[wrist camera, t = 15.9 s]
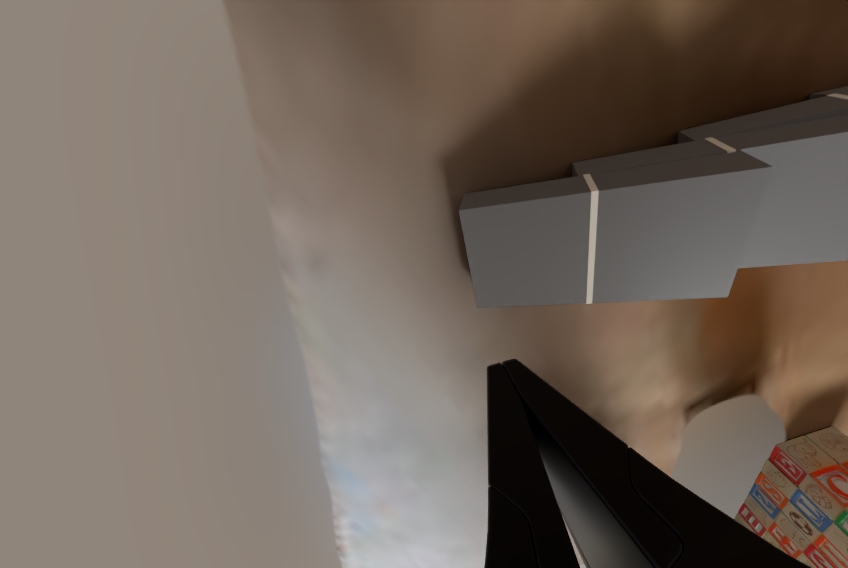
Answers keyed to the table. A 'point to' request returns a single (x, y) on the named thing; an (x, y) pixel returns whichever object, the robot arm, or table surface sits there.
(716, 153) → the domino
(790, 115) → the domino
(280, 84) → the table surface
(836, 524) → the stack of blocks
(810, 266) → the table surface
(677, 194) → the domino
